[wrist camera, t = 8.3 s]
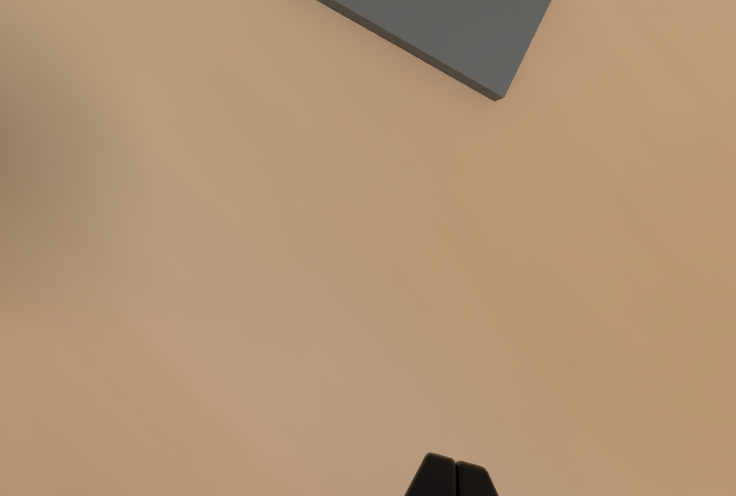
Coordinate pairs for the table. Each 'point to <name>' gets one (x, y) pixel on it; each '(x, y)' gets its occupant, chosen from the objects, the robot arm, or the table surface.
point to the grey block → (456, 34)
